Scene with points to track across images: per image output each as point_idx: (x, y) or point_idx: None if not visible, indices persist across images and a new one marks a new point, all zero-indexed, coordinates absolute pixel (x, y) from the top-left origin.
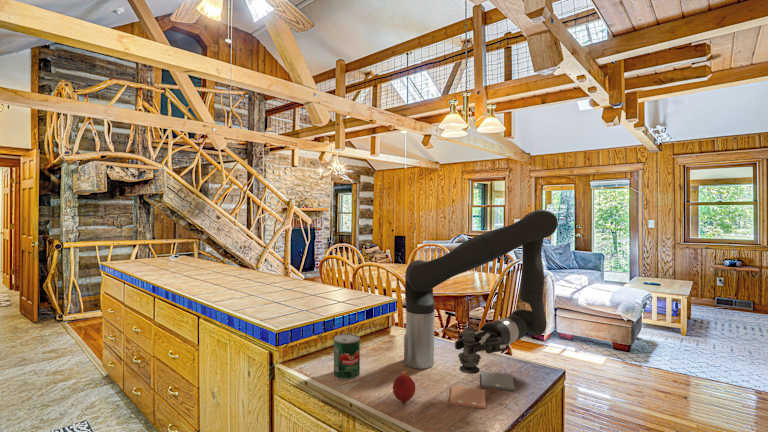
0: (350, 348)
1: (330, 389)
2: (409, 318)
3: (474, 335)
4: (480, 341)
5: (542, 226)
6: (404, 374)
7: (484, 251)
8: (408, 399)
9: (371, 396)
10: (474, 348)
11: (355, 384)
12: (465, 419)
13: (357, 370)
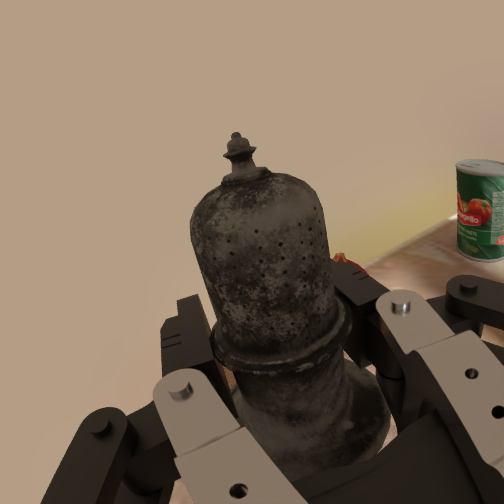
0: (461, 183)
1: (414, 237)
2: None
3: (205, 274)
4: (182, 379)
5: None
6: (334, 258)
7: None
8: None
9: (384, 281)
10: (164, 329)
11: (439, 260)
12: None
13: (475, 246)
